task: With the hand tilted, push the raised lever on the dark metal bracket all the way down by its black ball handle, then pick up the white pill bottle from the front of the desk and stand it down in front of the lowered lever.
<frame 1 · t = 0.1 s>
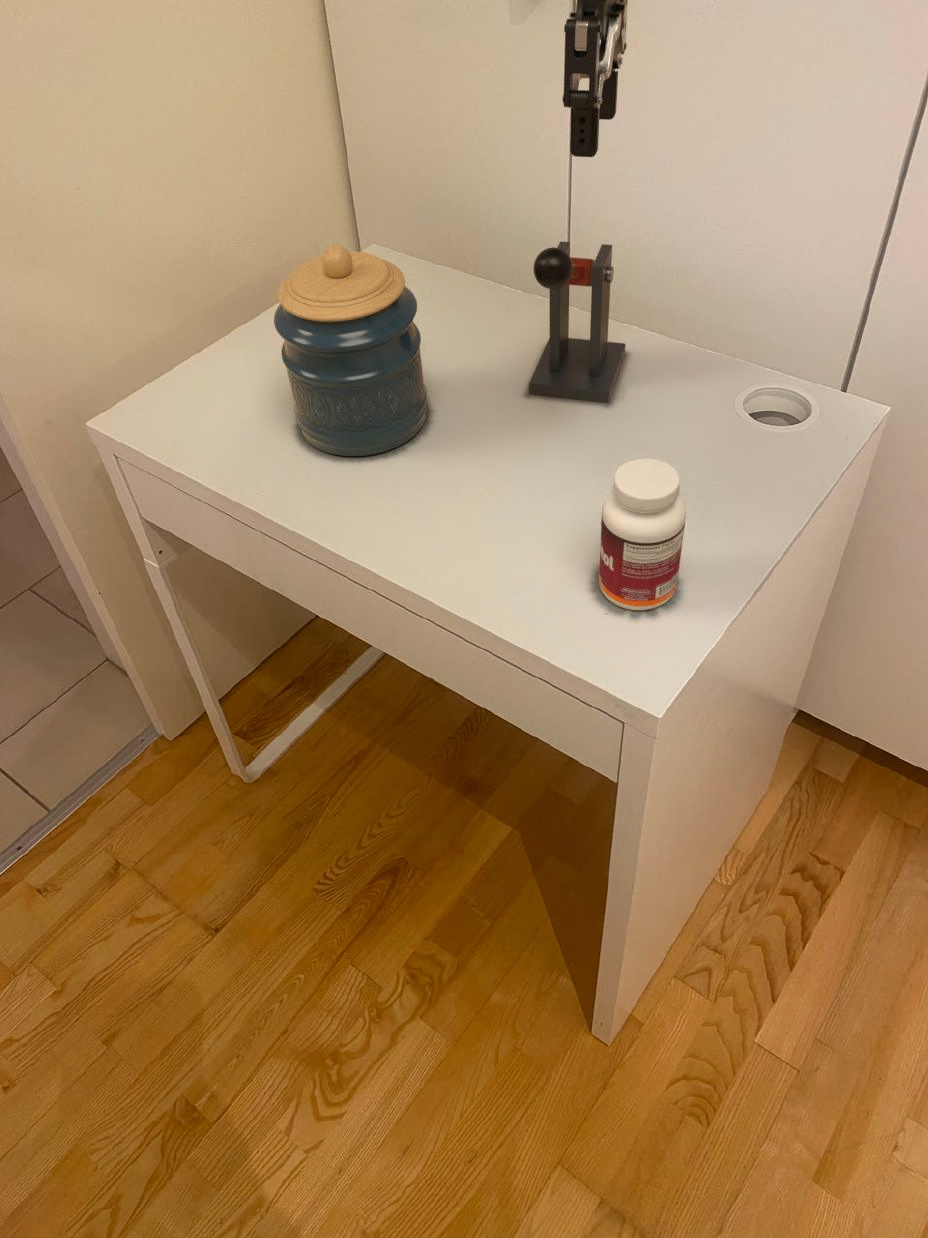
hand: (593, 135, 82), 23 cm above the table, tool pointing down, fingers open, 8 cm apart
pill bottle: (636, 587, 77), on the table
bracket: (578, 373, 98), on the table
lever: (567, 270, 84), point 14 cm above the table, hinge at 28.0°
canister: (364, 421, 95), on the table
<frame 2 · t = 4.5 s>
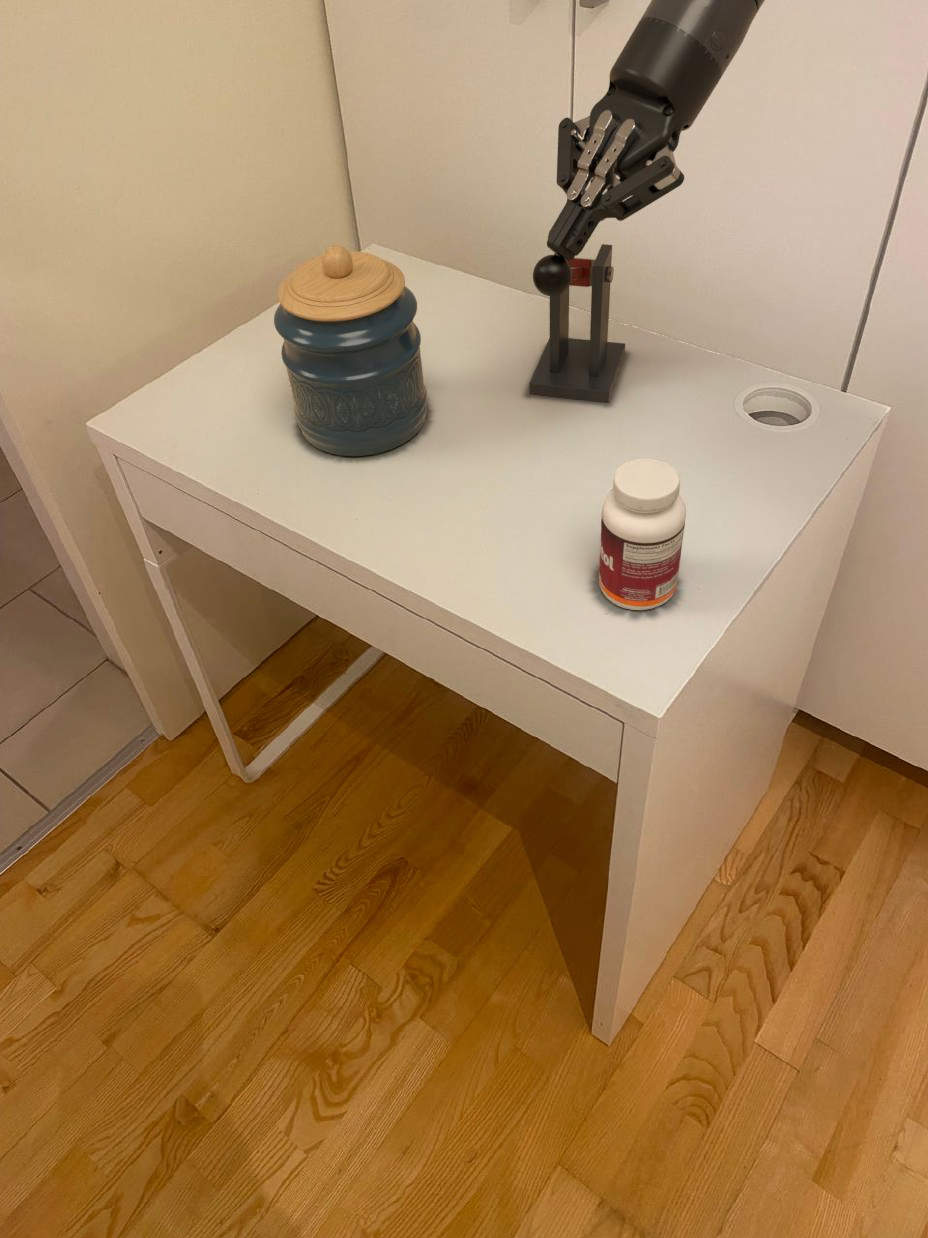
hand: (557, 253, 77), 18 cm above the table, tool tilted 45°, fingers closed
lever: (567, 273, 84), point 14 cm above the table, hinge at 25.5°
everything else where it was.
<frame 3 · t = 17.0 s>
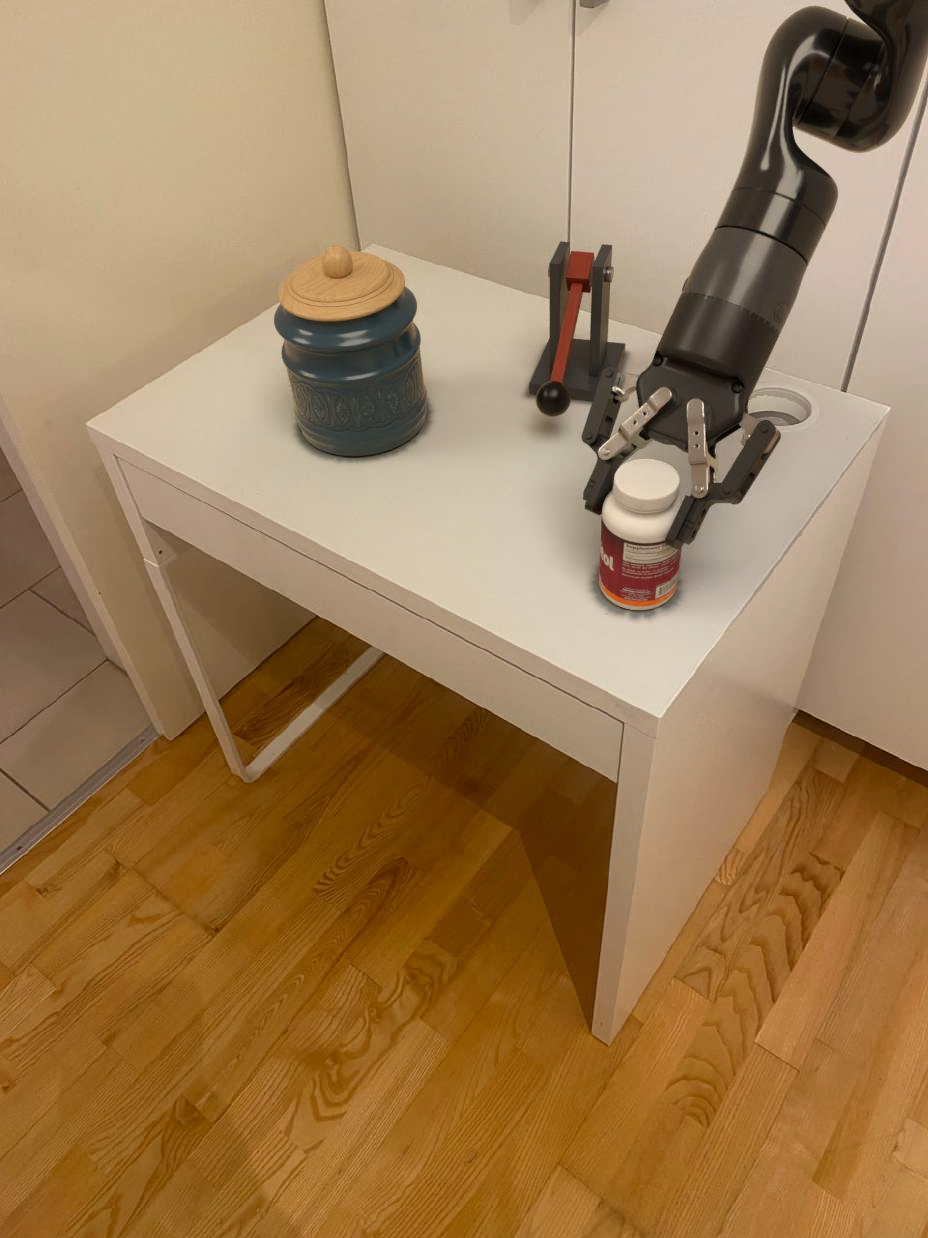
hand: (631, 528, 70), 7 cm above the table, tool tilted 45°, fingers closed on pill bottle, 6 cm apart
pill bottle: (636, 587, 77), on the table, touching gripper
lever: (567, 335, 89), point 8 cm above the table, hinge at -30.5°
everything else where it was.
when the fingers open (7 cm above the table, at t = 26.0 s): pill bottle stays where it is, on the table.
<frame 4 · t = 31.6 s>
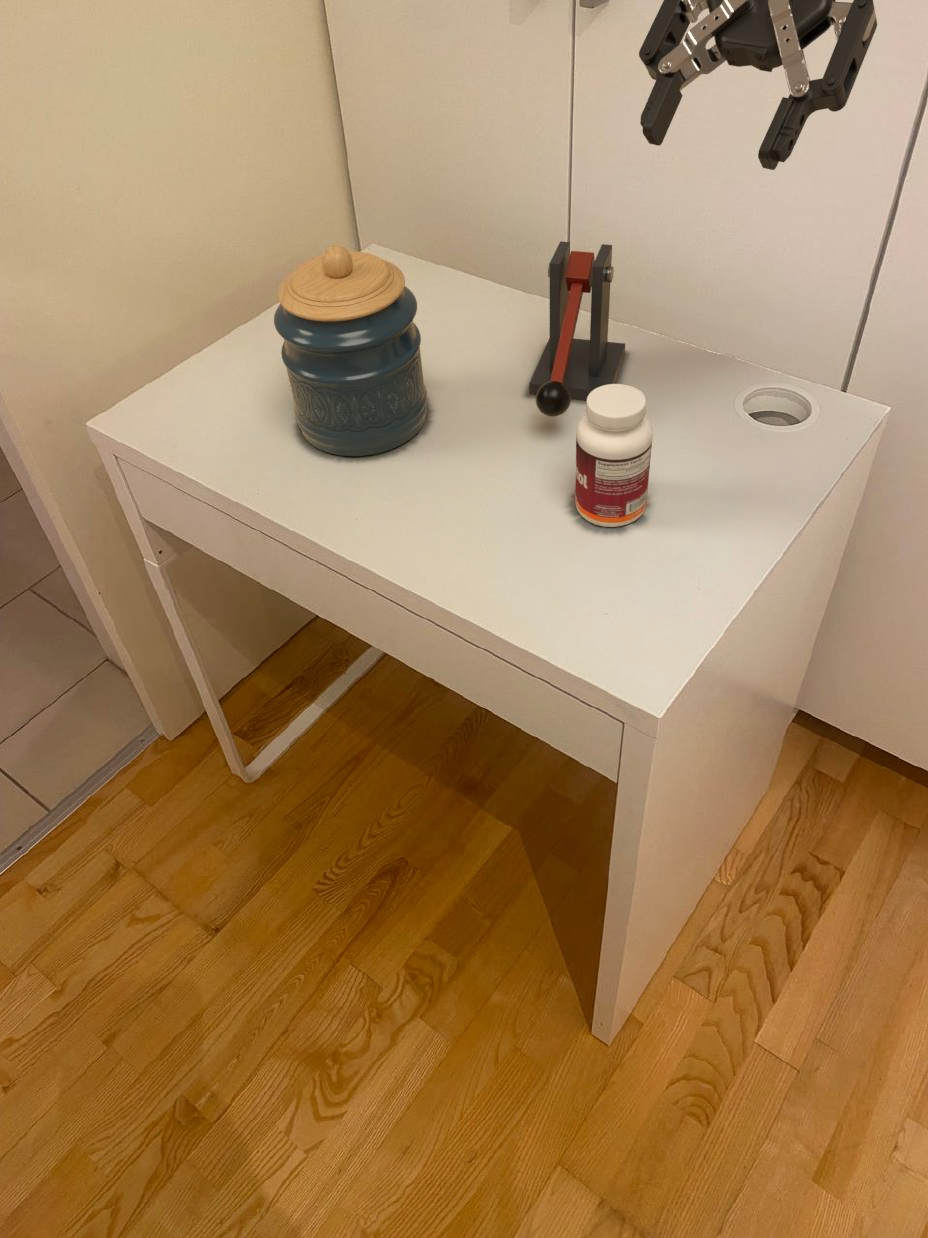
hand: (705, 151, 64), 29 cm above the table, tool tilted 45°, fingers open, 8 cm apart
pill bottle: (610, 508, 83), on the table
everything else where it was.
at the end: lever at -30° (first picture: +28°); pill bottle inside the target area (0.1 cm from its centre), on the table; pill bottle tilted 0° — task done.
